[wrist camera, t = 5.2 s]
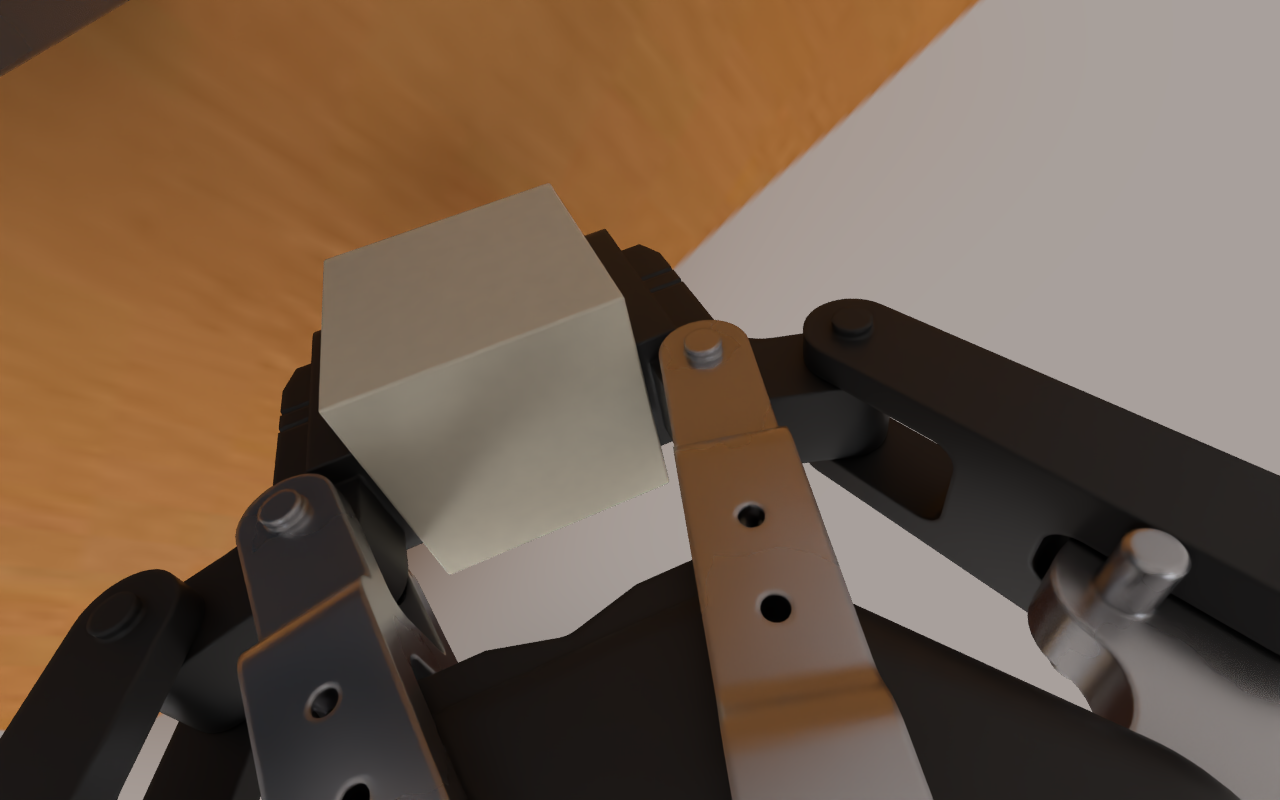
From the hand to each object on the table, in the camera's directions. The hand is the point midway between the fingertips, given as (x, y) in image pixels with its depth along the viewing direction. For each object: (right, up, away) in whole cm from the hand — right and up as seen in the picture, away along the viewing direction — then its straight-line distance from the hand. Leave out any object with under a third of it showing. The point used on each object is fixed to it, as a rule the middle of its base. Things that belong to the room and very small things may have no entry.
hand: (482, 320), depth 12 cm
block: (0, 0, 0) cm, 0 cm away
